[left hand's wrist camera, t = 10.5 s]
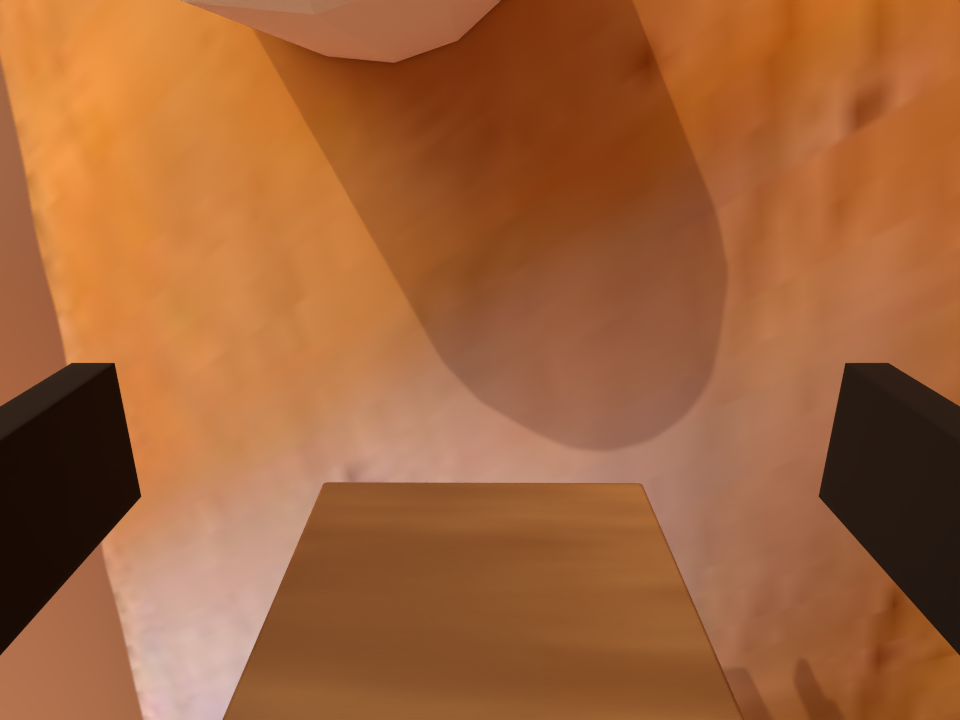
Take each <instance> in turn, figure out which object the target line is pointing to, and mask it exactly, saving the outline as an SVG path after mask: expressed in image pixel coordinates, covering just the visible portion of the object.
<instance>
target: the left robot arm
mask: <svg viewBox="0 0 960 720" xmlns="http://www.w3.org/2000/svg"><path fill="white" fill-rule="evenodd" d="M140 497H141V493H140V488H139V483H138V478H137V473H136V468H135V463H134V458H133V453H132V448H131V443H130V438H129V433H128V428H127V423H126V418H125V413H124V408H123V403H122V398H121V393H120V388H119V383H118V378H117V373H116V368H115V363H71V364H70V365H68V366H66V367H65V368H63V369H61V370H60V371H58V372H56V373H55V374H53V375H51V376H50V377H48V378H46V379H45V380H43V381H42V382H40V383H38V384H37V385H35V386H33V387H32V388H30V389H28V390H27V391H25V392H23V393H22V394H20V395H19V396H17V397H15V398H14V399H12V400H10V401H9V402H7V403H5V404H4V405H2V406H0V655H1V654H2V653H3V652H4V651H5V649H6V648H7V647H8V646H9V645H10V644H11V643H12V642H13V640H14V639H15V638H16V637H17V636H18V635H19V634H20V633H21V631H22V630H23V629H24V628H25V627H26V626H27V625H28V624H29V622H30V621H31V620H32V619H33V618H34V617H35V616H36V614H37V613H38V612H39V611H40V610H41V609H42V608H43V607H44V605H45V604H46V603H47V602H48V601H49V600H50V599H51V598H52V596H53V595H54V594H55V593H56V592H57V591H58V590H59V589H60V587H61V586H62V585H63V584H64V583H65V582H66V581H67V580H68V578H69V577H70V576H71V575H72V574H73V573H74V572H75V571H76V569H77V568H78V567H79V566H80V565H81V564H82V563H83V562H84V560H85V559H86V558H87V557H88V556H89V555H90V554H91V553H92V551H93V550H94V549H95V548H96V547H97V546H98V545H99V544H100V542H101V541H102V540H103V539H104V538H105V537H106V536H107V534H108V533H109V532H110V531H111V530H112V529H113V528H114V527H115V525H116V524H117V523H118V522H119V521H120V520H121V519H122V518H123V516H124V515H125V514H126V513H127V512H128V511H129V510H130V509H131V507H132V506H133V505H134V504H135V503H136V502H137V501H138V500H139V498H140ZM819 497H820V498H821V500H822V501H823V502H824V503H825V504H826V505H827V506H828V507H829V509H830V510H831V511H832V512H833V513H834V514H835V515H836V516H837V518H838V519H839V520H840V521H841V522H842V523H843V524H844V525H845V527H846V528H847V529H848V530H849V531H850V532H851V533H852V534H853V536H854V537H855V538H856V539H857V540H858V541H859V542H860V544H861V545H862V546H863V547H864V548H865V549H866V550H867V551H868V553H869V554H870V555H871V556H872V557H873V558H874V559H875V560H876V562H877V563H878V564H879V565H880V566H881V567H882V568H883V569H884V571H885V572H886V573H887V574H888V575H889V576H890V577H891V578H892V580H893V581H894V582H895V583H896V584H897V585H898V586H899V587H900V589H901V590H902V591H903V592H904V593H905V594H906V595H907V596H908V598H909V599H910V600H911V601H912V602H913V603H914V604H915V605H916V607H917V608H918V609H919V610H920V611H921V612H922V613H923V614H924V616H925V617H926V618H927V619H928V620H929V621H930V622H931V624H932V625H933V626H934V627H935V628H936V629H937V630H938V631H939V633H940V634H941V635H942V636H943V637H944V638H945V639H946V640H947V642H948V643H949V644H950V645H951V646H952V647H953V648H954V649H955V651H956V652H957V653H958V654H959V655H960V406H958V405H956V404H955V403H953V402H951V401H950V400H948V399H946V398H945V397H943V396H941V395H940V394H938V393H937V392H935V391H933V390H932V389H930V388H928V387H927V386H925V385H923V384H922V383H920V382H918V381H917V380H915V379H914V378H912V377H910V376H909V375H907V374H905V373H904V372H902V371H900V370H899V369H897V368H895V367H894V366H892V365H890V364H889V363H845V368H844V373H843V378H842V383H841V388H840V393H839V398H838V403H837V408H836V413H835V418H834V423H833V428H832V433H831V438H830V443H829V448H828V453H827V458H826V463H825V468H824V473H823V478H822V483H821V488H820V493H819Z"/></svg>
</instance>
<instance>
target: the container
mask: <svg viewBox="0 0 960 720" xmlns="http://www.w3.org/2000/svg"><path fill="white" fill-rule="evenodd" d="M182 1H184V2H186V3H189V4H192V5H194V6H197V7H199V8H202V9H205V10H207V11H210V12H213V13H215V14H218V15H220V16H223V17H226V18H228V19H231V20H234V21H236V22H239V23H241V24H244V25H247V26H249V27H252V28H254V29H257V30H260V31H262V32H265V33H268V34H270V35H273V36H275V37H278V38H281V39H283V40H286V41H288V42H291V43H294V44H296V45H299V46H302V47H304V48H307V49H309V50H312V51H315V52H317V53H320V54H322V55H325V56H329V57H339V58H350V59H360V60H371V61H381V62H392V63H395V62H398V61H401V60H404V59H406V58H409V57H412V56H415V55H418V54H421V53H424V52H427V51H429V50H432V49H435V48H438V47H441V46H444V45H447V44H450V43H452V42H455V41H458V40H459V39H460V38H461V37H462V36H463V35H464V34H465V33H466V32H468V31H469V30H470V29H471V28H472V27H473V26H474V25H475V24H476V23H477V22H478V21H479V20H480V19H481V18H483V17H484V16H485V15H486V14H487V13H488V12H489V11H490V10H491V9H492V8H493V7H494V6H495V5H497V4H498V3H499V2H500V1H501V0H182Z"/></svg>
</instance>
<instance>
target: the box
mask: <svg viewBox="0 0 960 720" xmlns="http://www.w3.org/2000/svg"><path fill="white" fill-rule="evenodd" d="M223 720H744V718H743V716H742V714H741V712H740V709H739V707H738V705H737V702H736V700H735V698H734V695H733V693H732V691H731V688H730V686H729V684H728V682H727V679H726V677H725V675H724V672H723V670H722V668H721V665H720V663H719V661H718V659H717V656H716V654H715V652H714V649H713V647H712V645H711V642H710V640H709V638H708V635H707V633H706V631H705V629H704V626H703V624H702V622H701V619H700V617H699V615H698V612H697V610H696V608H695V605H694V603H693V601H692V599H691V596H690V594H689V592H688V589H687V587H686V585H685V582H684V580H683V578H682V575H681V573H680V571H679V569H678V566H677V564H676V562H675V559H674V557H673V555H672V552H671V550H670V548H669V545H668V543H667V541H666V539H665V536H664V534H663V532H662V529H661V527H660V525H659V522H658V520H657V518H656V515H655V513H654V511H653V509H652V506H651V504H650V502H649V499H648V497H647V495H646V492H645V490H644V488H643V485H642V484H639V483H336V482H327V483H324V484H323V486H322V488H321V491H320V493H319V495H318V498H317V500H316V502H315V505H314V507H313V509H312V512H311V514H310V517H309V519H308V521H307V524H306V526H305V528H304V531H303V533H302V535H301V538H300V540H299V542H298V545H297V547H296V549H295V552H294V554H293V556H292V559H291V561H290V563H289V566H288V568H287V570H286V573H285V575H284V577H283V580H282V582H281V584H280V587H279V589H278V591H277V594H276V596H275V598H274V601H273V603H272V605H271V608H270V610H269V612H268V615H267V617H266V619H265V622H264V624H263V626H262V629H261V631H260V633H259V636H258V638H257V640H256V643H255V645H254V647H253V650H252V652H251V654H250V657H249V659H248V661H247V664H246V666H245V668H244V671H243V673H242V675H241V678H240V680H239V682H238V685H237V687H236V690H235V692H234V694H233V697H232V699H231V701H230V704H229V706H228V708H227V711H226V713H225V715H224V718H223Z"/></svg>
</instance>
